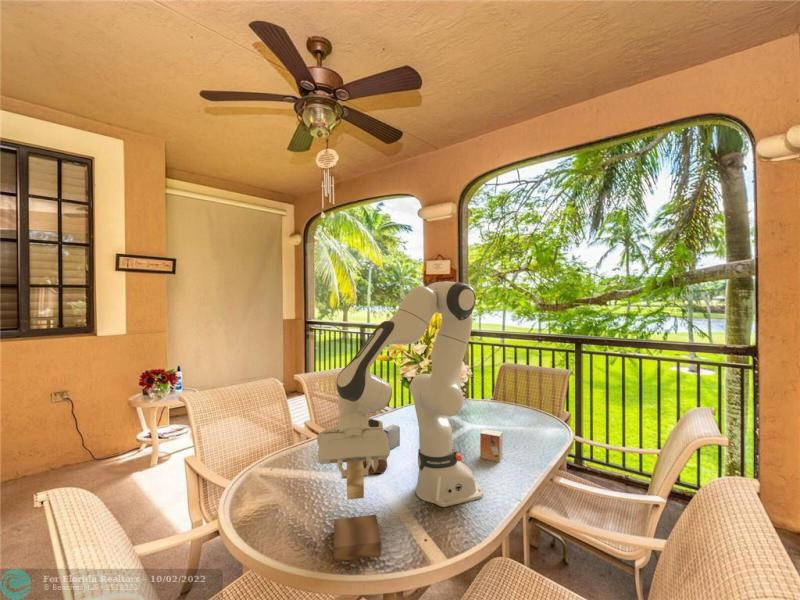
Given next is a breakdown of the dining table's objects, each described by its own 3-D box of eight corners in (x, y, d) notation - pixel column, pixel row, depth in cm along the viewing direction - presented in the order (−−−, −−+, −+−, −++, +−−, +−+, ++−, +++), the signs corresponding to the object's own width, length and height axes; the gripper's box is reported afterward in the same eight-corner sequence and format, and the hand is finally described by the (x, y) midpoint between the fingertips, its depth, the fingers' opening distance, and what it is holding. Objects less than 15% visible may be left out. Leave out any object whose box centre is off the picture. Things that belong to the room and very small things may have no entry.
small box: (480, 458, 150) (479, 433, 150) (483, 453, 155) (483, 428, 155) (499, 462, 146) (499, 436, 146) (502, 457, 151) (502, 431, 151)
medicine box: (392, 442, 168) (392, 424, 167) (400, 445, 165) (400, 426, 165) (381, 448, 161) (380, 429, 161) (388, 451, 159) (388, 431, 159)
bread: (387, 461, 149) (387, 449, 149) (387, 475, 138) (387, 461, 138) (359, 462, 149) (359, 450, 149) (357, 476, 138) (357, 462, 138)
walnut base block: (376, 528, 107) (376, 514, 107) (381, 557, 95) (380, 541, 95) (334, 533, 105) (334, 519, 105) (333, 563, 93) (333, 547, 93)
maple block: (362, 489, 102) (362, 460, 102) (363, 498, 98) (363, 468, 98) (346, 491, 102) (346, 462, 101) (347, 499, 97) (346, 469, 97)
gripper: (317, 425, 106) (315, 476, 96) (387, 421, 109) (392, 469, 100) (317, 435, 110) (316, 484, 101) (385, 430, 114) (390, 477, 104)
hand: (355, 476), depth 100 cm, fingers closed on maple block, 4 cm apart
